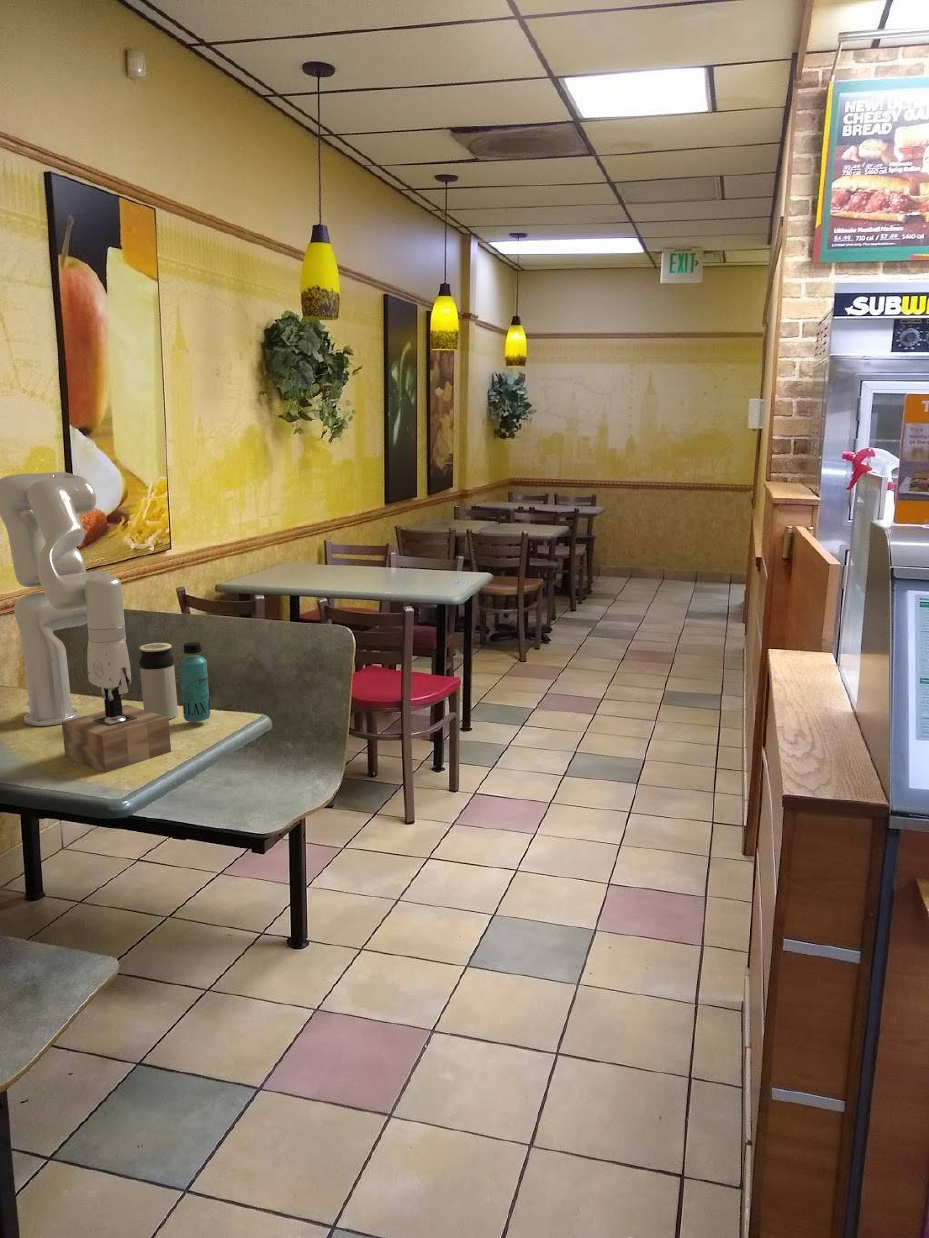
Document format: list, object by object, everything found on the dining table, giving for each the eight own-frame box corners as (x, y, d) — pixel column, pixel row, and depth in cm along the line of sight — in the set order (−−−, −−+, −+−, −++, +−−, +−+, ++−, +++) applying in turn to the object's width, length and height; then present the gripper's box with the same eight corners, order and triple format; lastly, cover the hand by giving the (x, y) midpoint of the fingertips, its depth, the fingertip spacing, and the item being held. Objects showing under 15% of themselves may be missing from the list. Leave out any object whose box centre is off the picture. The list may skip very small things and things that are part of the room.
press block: (65, 757, 215) (61, 721, 214) (129, 737, 228) (126, 703, 226) (106, 772, 206) (102, 735, 204) (171, 751, 218) (168, 716, 216)
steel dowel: (103, 753, 216) (100, 719, 215) (121, 747, 220) (118, 714, 218) (115, 757, 214) (111, 722, 212) (132, 751, 217) (129, 717, 215)
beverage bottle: (179, 727, 235) (172, 646, 230) (190, 719, 241) (184, 639, 237) (205, 728, 234) (199, 646, 230) (215, 719, 240) (210, 640, 236)
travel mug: (168, 722, 239) (162, 650, 235) (138, 721, 240) (131, 649, 237) (183, 712, 246) (178, 643, 243) (154, 711, 248) (148, 642, 244)
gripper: (72, 632, 213) (79, 713, 217) (110, 642, 204) (118, 727, 208) (103, 626, 219) (110, 705, 223) (142, 635, 209) (149, 718, 213)
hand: (114, 715), depth 215 cm, fingers closed
